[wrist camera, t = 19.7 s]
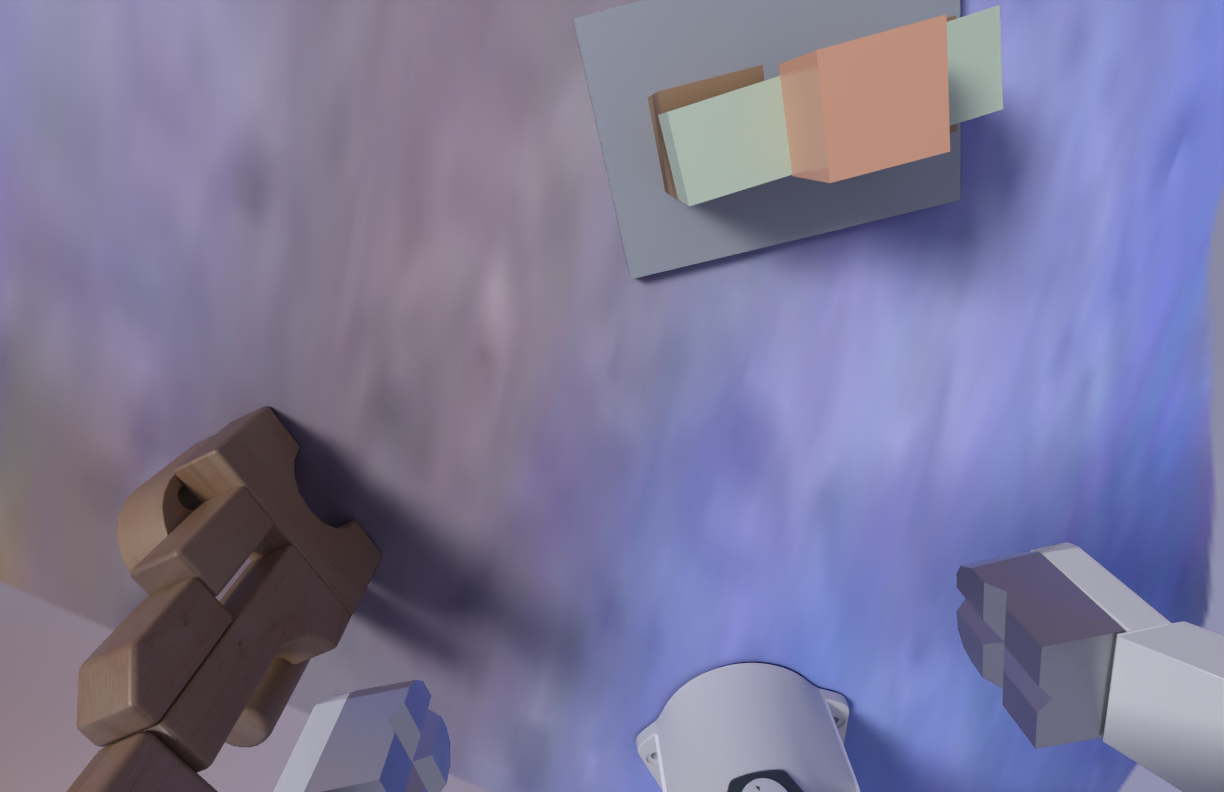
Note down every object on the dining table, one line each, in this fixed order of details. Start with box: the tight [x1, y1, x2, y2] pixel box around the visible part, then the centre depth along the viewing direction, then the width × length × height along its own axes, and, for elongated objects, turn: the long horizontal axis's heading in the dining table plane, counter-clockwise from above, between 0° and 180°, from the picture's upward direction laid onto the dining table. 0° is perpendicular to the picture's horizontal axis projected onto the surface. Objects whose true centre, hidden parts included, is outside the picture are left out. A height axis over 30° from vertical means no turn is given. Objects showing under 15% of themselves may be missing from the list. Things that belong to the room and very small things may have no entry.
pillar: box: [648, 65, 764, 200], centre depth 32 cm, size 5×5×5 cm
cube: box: [779, 14, 950, 183], centre depth 24 cm, size 4×4×4 cm
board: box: [574, 0, 961, 279], centre depth 34 cm, size 14×20×1 cm
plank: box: [658, 5, 1003, 206], centre depth 28 cm, size 4×14×4 cm, turn 106°
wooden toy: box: [67, 406, 382, 792], centre depth 32 cm, size 16×7×25 cm, turn 25°
